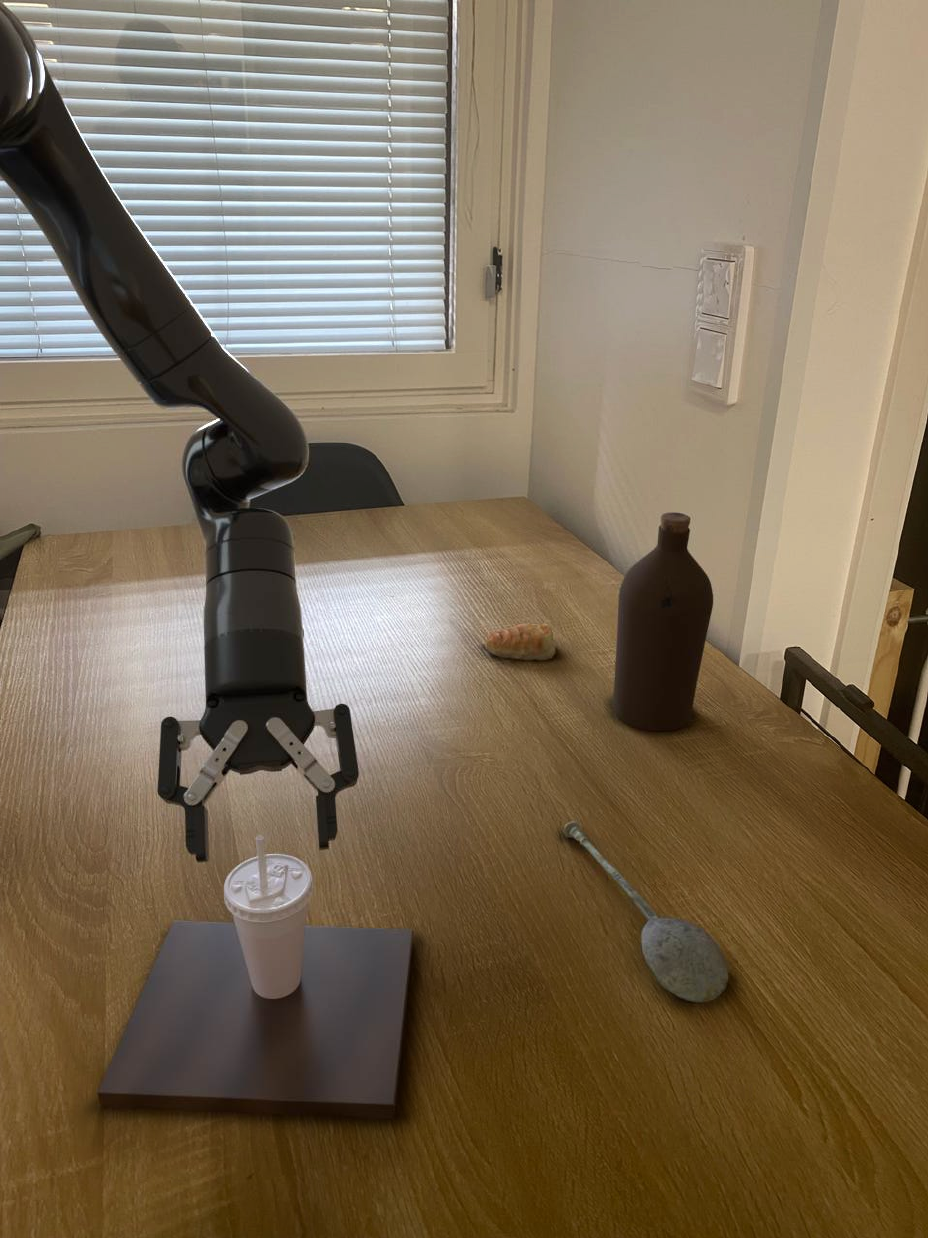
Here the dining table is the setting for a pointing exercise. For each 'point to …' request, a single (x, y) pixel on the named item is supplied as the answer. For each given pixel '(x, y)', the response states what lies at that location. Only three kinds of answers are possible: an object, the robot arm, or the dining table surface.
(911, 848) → the dining table surface
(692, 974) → the soupspoon
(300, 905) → the smoothie
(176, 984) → the board
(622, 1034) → the dining table surface
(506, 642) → the pastry
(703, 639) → the olive oil
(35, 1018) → the dining table surface
